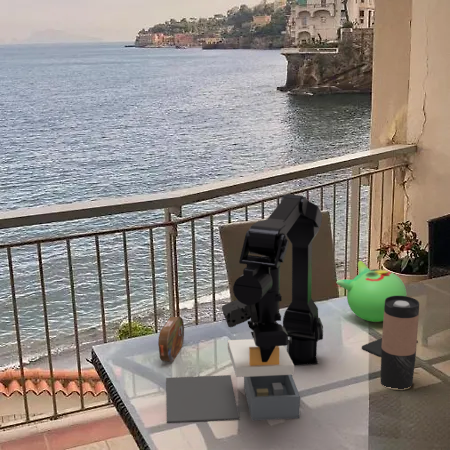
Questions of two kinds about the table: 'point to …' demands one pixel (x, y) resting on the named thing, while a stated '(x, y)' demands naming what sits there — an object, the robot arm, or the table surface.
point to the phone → (374, 347)
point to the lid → (258, 360)
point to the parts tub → (272, 397)
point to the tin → (171, 339)
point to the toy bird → (371, 291)
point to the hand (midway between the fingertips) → (263, 360)
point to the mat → (200, 399)
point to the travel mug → (399, 341)
